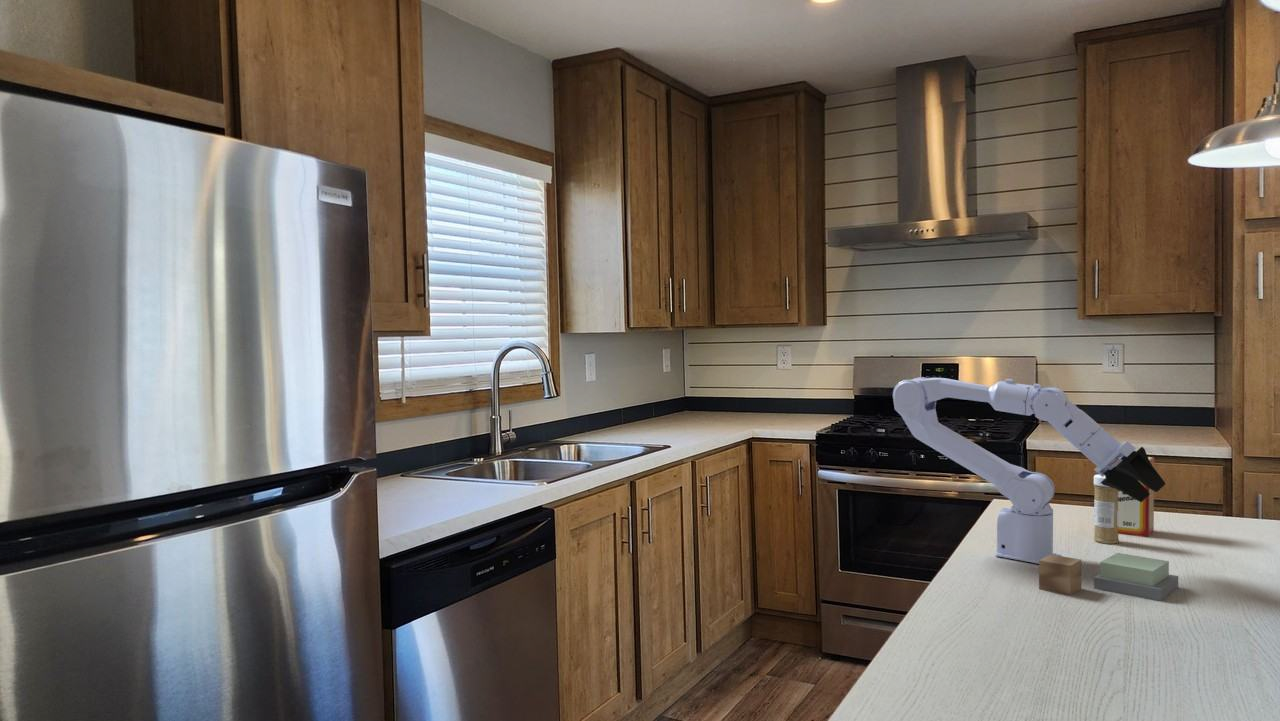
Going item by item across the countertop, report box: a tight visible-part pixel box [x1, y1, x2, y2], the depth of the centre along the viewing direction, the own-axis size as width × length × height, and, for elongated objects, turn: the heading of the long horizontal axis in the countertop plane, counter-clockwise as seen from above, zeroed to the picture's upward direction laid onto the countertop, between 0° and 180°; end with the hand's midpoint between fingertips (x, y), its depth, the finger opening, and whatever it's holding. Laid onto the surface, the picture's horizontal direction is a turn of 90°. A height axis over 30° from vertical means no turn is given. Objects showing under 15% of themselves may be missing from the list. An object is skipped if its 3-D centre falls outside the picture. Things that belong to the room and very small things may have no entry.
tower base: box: [1093, 573, 1179, 602], centre depth 149 cm, size 10×10×2 cm
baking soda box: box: [1112, 456, 1155, 538], centre depth 188 cm, size 10×6×16 cm
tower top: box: [1099, 552, 1170, 586], centre depth 149 cm, size 8×8×2 cm
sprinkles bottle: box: [1093, 473, 1120, 545], centre depth 179 cm, size 5×5×13 cm
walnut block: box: [1038, 554, 1082, 596], centre depth 149 cm, size 5×5×5 cm
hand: (1153, 493), depth 157 cm, fingers open, 7 cm apart
